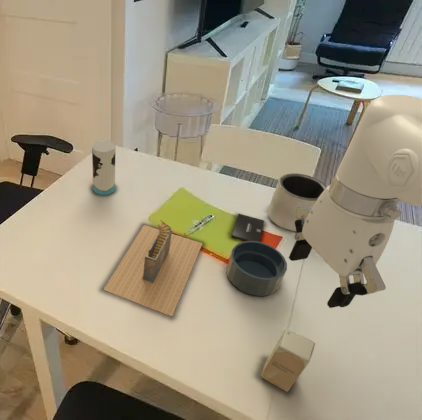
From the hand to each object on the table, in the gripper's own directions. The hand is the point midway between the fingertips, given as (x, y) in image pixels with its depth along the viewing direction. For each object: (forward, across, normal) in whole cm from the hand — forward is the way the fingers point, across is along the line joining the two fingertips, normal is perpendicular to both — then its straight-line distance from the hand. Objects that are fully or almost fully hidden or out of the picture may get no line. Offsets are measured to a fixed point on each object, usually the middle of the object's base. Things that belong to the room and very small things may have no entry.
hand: (315, 280), depth 59 cm
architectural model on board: (+22, +27, +16) cm, 38 cm away
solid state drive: (+22, +34, -12) cm, 42 cm away
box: (+22, -4, +2) cm, 22 cm away
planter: (+22, +36, -27) cm, 50 cm away
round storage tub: (+22, +19, -5) cm, 29 cm away
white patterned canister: (+22, +61, +22) cm, 68 cm away
